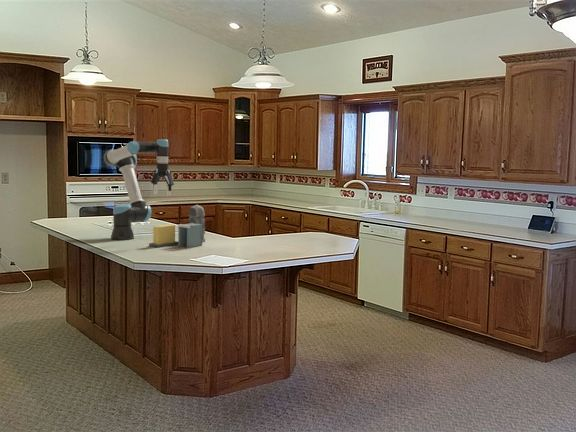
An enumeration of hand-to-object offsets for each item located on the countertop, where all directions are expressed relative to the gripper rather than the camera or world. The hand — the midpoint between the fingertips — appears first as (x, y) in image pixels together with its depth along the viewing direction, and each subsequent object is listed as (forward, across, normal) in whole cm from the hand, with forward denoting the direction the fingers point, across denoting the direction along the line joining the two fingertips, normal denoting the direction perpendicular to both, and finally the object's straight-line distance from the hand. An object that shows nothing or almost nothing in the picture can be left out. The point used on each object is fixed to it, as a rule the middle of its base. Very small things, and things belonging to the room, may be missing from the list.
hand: (162, 195), depth 401 cm
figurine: (+31, +15, +18) cm, 39 cm away
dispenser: (+31, +27, +1) cm, 41 cm away
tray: (+31, +14, -9) cm, 35 cm away
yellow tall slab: (+30, +14, -9) cm, 35 cm away
